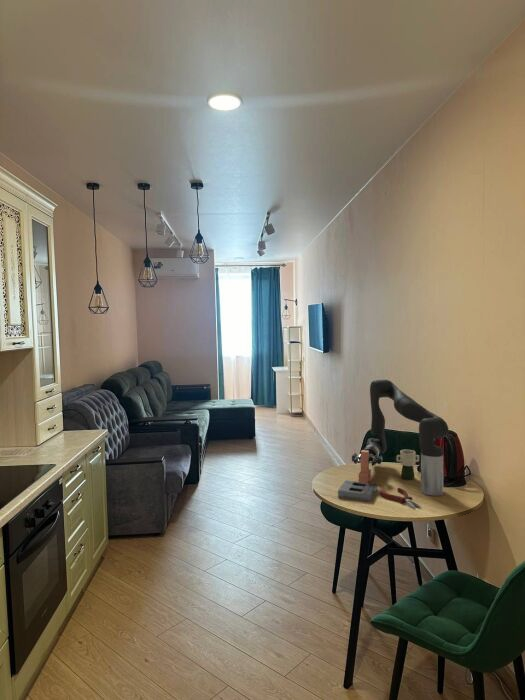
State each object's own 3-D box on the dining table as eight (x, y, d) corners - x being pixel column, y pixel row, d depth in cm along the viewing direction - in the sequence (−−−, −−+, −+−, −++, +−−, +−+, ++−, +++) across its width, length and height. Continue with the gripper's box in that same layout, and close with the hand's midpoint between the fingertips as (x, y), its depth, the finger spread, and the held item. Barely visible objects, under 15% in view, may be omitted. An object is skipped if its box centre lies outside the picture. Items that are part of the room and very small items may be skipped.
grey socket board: (376, 490, 207) (376, 484, 207) (370, 501, 194) (370, 494, 194) (345, 486, 213) (345, 480, 212) (338, 497, 200) (338, 490, 200)
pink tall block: (370, 479, 221) (370, 449, 220) (367, 485, 213) (367, 454, 212) (362, 478, 223) (362, 448, 222) (358, 484, 215) (358, 453, 214)
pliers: (406, 512, 183) (406, 506, 183) (377, 495, 202) (378, 489, 202) (430, 508, 187) (430, 502, 187) (399, 492, 206) (399, 486, 206)
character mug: (417, 475, 227) (417, 449, 226) (421, 480, 220) (421, 453, 219) (394, 475, 227) (394, 449, 227) (398, 480, 220) (398, 453, 219)
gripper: (356, 444, 233) (348, 453, 218) (385, 447, 227) (379, 456, 212) (356, 459, 234) (348, 468, 219) (385, 462, 228) (379, 472, 213)
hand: (363, 462), depth 216 cm, fingers open, 7 cm apart
